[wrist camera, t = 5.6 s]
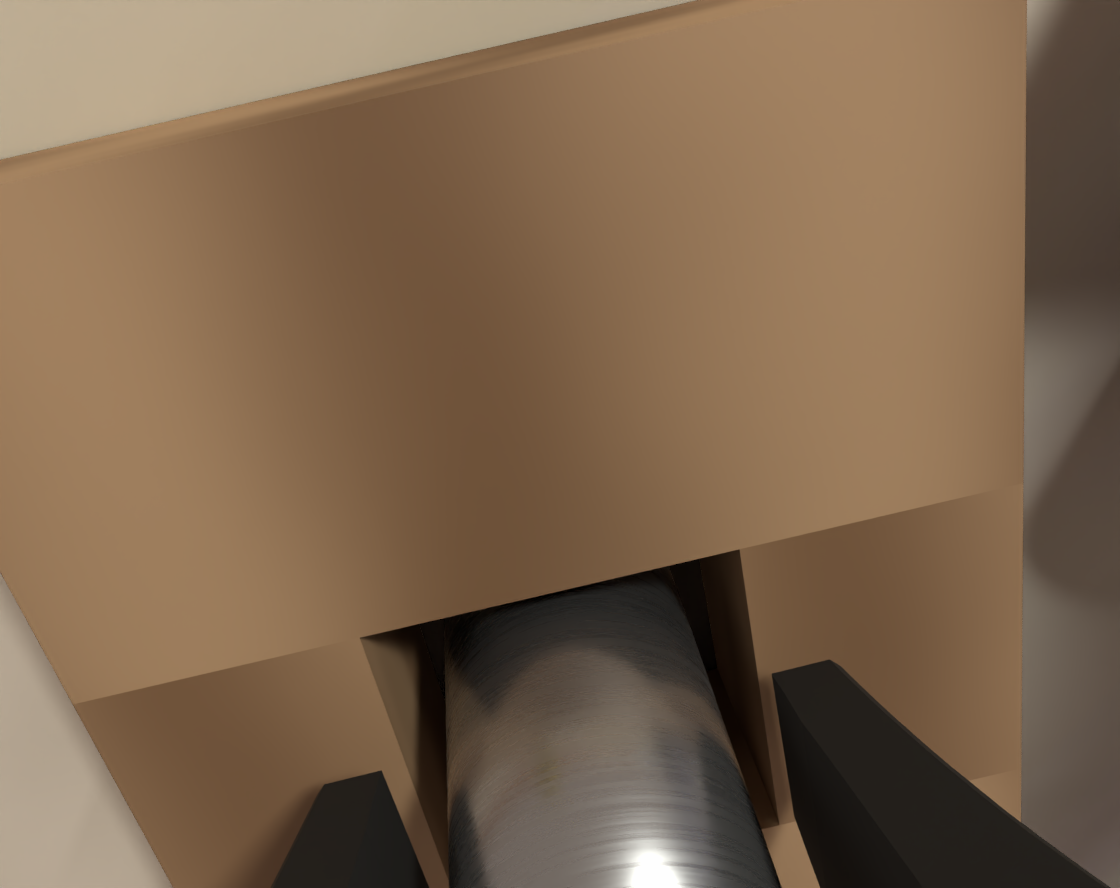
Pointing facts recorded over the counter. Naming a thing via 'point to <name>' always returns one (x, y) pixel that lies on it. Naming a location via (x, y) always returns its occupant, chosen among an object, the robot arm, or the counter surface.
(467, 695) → the pin tall
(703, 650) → the counter surface
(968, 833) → the robot arm
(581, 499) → the hole block
